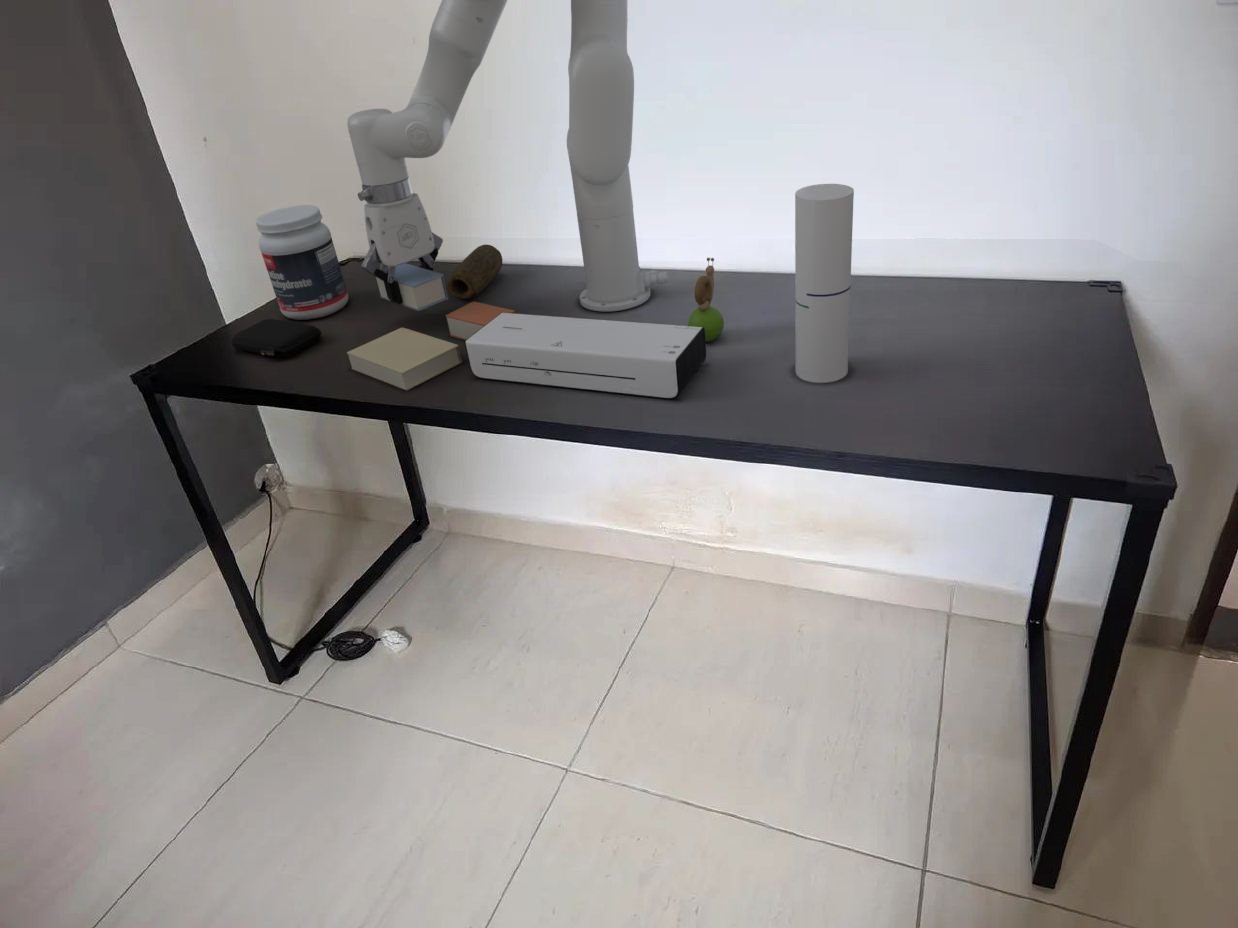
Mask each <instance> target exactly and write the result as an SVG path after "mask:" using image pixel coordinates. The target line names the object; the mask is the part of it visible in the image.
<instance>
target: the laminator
mask: <svg viewBox="0 0 1238 928" xmlns="http://www.w3.org/2000/svg"><path fill="white" fill-rule="evenodd" d="M706 344H707V343H706V342H705V329H704V327H692V326H688V325H679V324H678V325H676V324H663V323H649V322H634V321H633V322H632V321H620V320H610V319H609V320H608V319H596V318H595V319H593V318H582V317H580V318H579V317H567V316H553V315H552V316H551V315H538V314H537V315H536V314H525V313H515V314H512V313H500V314H499V315H497V316H496V317H495V318H494V319H492V320H491V321H490V322H488V323H487V324H486V325H484V326H483V327H482V328H481V329H479V330H478V331H477V332H475V333H474V334H473V335H472V336H470V337H469V338H468V339H466V340H464V347H465V351H466V355H467V356H466V357H467V361H468V365H469V370H470V371H471V374H472V375H473V377H475V378H477V379H480V380H485V381H487V380H488V381H494V382H506V383H513V384H514V383H515V384H522V385H533V386H542V387H551V388H560V389H568V390H577V391H586V392H587V391H588V392H595V393H606V394H613V395H623V396H631V397H632V396H633V397H642V398H650V399H660V400H675V399H677V398H679V396H680V393H681V392H682V390H683V389H684V387H685V386H686V385H687V384H688V383H689V381H690V380H691V378H692V377H693V376H694V374H695V373H696V372H697V370H698V369H699V368H700V367H701V366H702V364H704V363H705V361H706V359H707V345H706Z"/></svg>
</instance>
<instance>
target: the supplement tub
mask: <svg viewBox="0 0 1238 928" xmlns="http://www.w3.org/2000/svg"><path fill="white" fill-rule="evenodd" d="M321 213H322V212H321V210H320V208H319V207H318V206H315V205H312V204H311V205H310V204H303V205H292V206H287V207H282V208H278V209H275V210H272V211H269V212H266V213H264V214H262V215H259V216H258V217H257V218H256V219H255V225H256V228H257V231H258V232H259V233H261V235H260V237H259V240H258V247H259V250H260V253H261V256H262V258H263V262H264V265H265V268H266V271H267V274H268V277H269V280H270V283H271V285H272V289H273V293H274V295H275V298H276V301H277V304H278V306H279V311H280V312H281V314H282V315H283V316H284V317H286V318H288V319H291V320H295V321H309V320H317V319H322V318H325V317H328V316H331V315H333V314H335V313H336V312H338V311H340V310H342V309H343V308H344V307H345V306H346V305H347V303H348V301H349V293H348V290H347V286H346V282H345V279H344V276H343V273H342V268H341V266H340V262H339V258H338V255H337V252H336V248H335V244H334V242H333V241H334V240H333V237H332V233H331V231H330V229H329V227H328V226H327V225H326V224H325V223H323V222H322V219H323V215H322V214H321Z"/></svg>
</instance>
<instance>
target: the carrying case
mask: <svg viewBox="0 0 1238 928" xmlns="http://www.w3.org/2000/svg"><path fill="white" fill-rule="evenodd" d="M321 336H322V331H321V329H320V328H318V327H316V326H315V325H312V324H310V323H309V324H307V323H303V322H302V323H301V322H295V321H288V320H282V319H275V318H265V319H262V320H260V321H258V322H256V323H255V324H252V325H250V326H248V327H246V328H244V329H242V330H240V331H238V332H236V333H235V334H234V335H233V337H232V339H231V345H232V346H233V348H234V349H236V350H241V351H243V352H248V353H254V354H259V355H261V356H262V357H278V358H289V357H292V356H294V355H295V354H297V353H299V352H301V351H302V350H305V349H306V348H308V347H310V346H312V345H313V344H315V343H316V342H318V341H319V340H320V337H321Z"/></svg>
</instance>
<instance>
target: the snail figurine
mask: <svg viewBox="0 0 1238 928" xmlns="http://www.w3.org/2000/svg"><path fill="white" fill-rule="evenodd" d="M710 261H711V262H712V265H710ZM714 261H715V258H714V257H707V258H706V262H708V265H707V266H706V268H705V273H706V275H701V276H700V277H698V279H697V281H696V283H695V285H694V300H695V303H697V304H698V306H697V308H696V309H694V310H693V311H692V313H691V314H690V315H689V318H688V323H687V326H692V327H704V329H705V343H706V342H707V343H708V342H712V341H714V340H716V339H717V338H718V337H719V336H721V334H722V332H723V331H724V326H725V320H724V317H723V314H722V313H721V312H720V311H719V310H718V309H717V308H716V307H714V306H711V303H712V300H713V297H714V288H715V276H714V275H715V267H714Z"/></svg>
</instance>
